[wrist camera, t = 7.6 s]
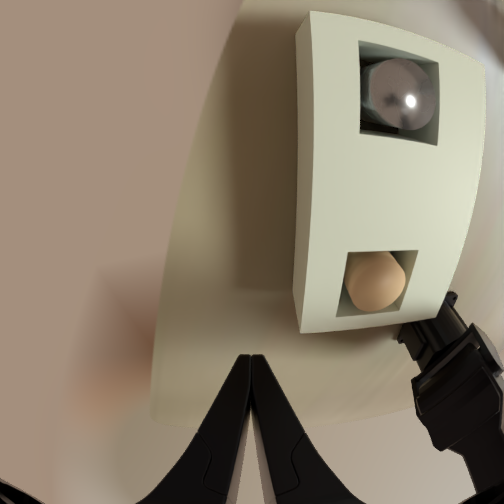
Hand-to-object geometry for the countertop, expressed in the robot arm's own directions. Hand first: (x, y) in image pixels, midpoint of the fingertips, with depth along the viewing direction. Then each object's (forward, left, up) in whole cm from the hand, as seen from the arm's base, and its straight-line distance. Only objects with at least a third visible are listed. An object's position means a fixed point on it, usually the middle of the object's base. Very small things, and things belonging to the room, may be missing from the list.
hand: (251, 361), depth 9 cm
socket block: (-9, -3, -12) cm, 16 cm away
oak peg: (-8, +3, -12) cm, 15 cm away
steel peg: (-8, -9, -12) cm, 17 cm away
